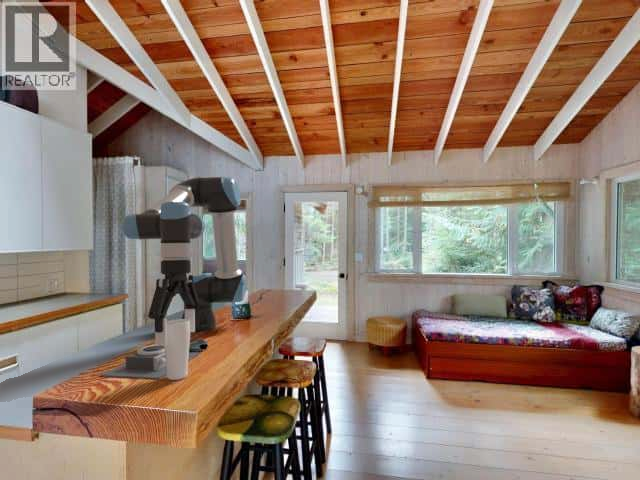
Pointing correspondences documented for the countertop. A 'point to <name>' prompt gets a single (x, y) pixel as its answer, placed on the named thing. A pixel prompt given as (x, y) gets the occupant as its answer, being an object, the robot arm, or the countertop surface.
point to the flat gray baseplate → (144, 364)
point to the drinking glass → (177, 348)
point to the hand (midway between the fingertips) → (176, 337)
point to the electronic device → (197, 345)
